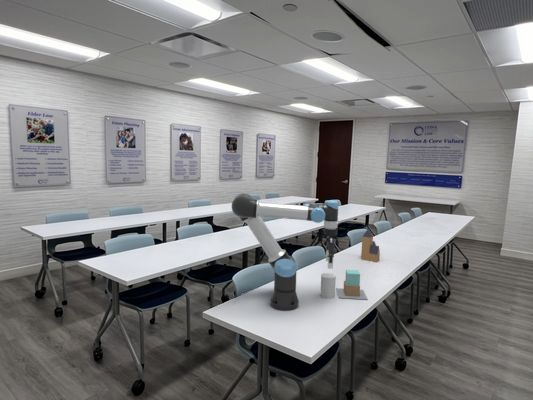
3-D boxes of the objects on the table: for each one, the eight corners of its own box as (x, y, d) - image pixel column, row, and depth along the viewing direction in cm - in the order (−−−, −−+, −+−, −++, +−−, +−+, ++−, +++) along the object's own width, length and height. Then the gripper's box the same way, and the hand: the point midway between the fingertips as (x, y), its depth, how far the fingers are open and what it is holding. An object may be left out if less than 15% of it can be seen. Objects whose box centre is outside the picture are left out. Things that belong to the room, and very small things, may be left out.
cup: (324, 291, 201) (325, 272, 200) (337, 295, 196) (338, 275, 195) (317, 295, 195) (318, 275, 193) (330, 299, 190) (331, 279, 188)
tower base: (338, 298, 192) (339, 287, 191) (336, 289, 206) (336, 278, 205) (367, 300, 190) (368, 288, 189) (363, 290, 204) (363, 280, 203)
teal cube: (347, 285, 194) (347, 273, 193) (345, 281, 201) (346, 269, 200) (359, 286, 193) (360, 274, 193) (357, 281, 200) (358, 270, 199)
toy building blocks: (361, 259, 270) (362, 228, 267) (369, 254, 285) (371, 225, 282) (376, 262, 262) (378, 230, 260) (384, 257, 277) (386, 227, 274)
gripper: (339, 232, 178) (338, 272, 180) (335, 224, 203) (333, 258, 205) (325, 232, 179) (324, 271, 181) (322, 223, 203) (321, 258, 206)
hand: (329, 264), depth 193 cm, fingers open, 13 cm apart
